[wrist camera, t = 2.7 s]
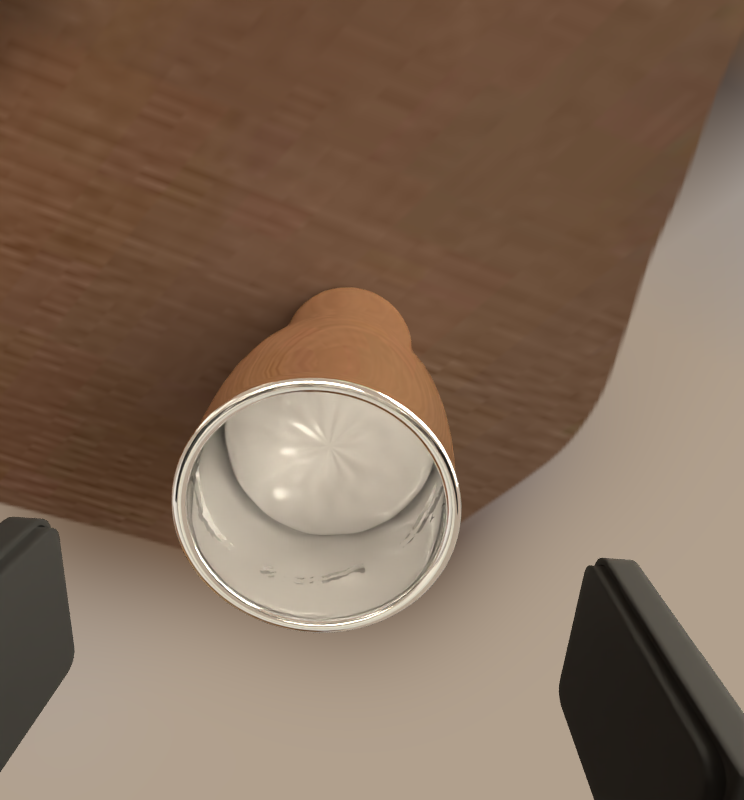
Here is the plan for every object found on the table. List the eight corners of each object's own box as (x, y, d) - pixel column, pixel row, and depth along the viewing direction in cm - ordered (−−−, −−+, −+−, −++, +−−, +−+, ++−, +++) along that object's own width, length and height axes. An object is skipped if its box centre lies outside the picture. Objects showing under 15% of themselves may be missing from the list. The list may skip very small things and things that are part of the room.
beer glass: (431, 286, 26) (497, 387, 12) (410, 426, 28) (445, 654, 14) (279, 268, 25) (157, 350, 11) (271, 410, 28) (162, 627, 14)
